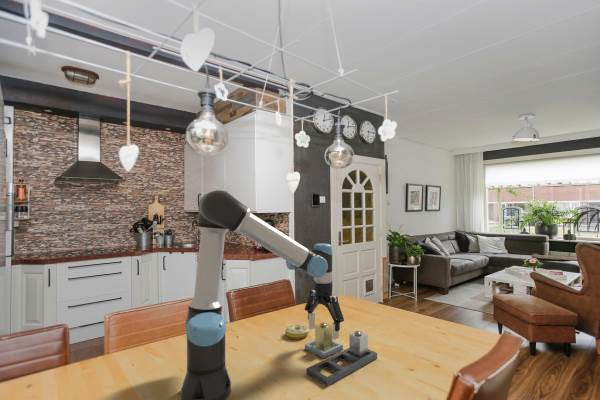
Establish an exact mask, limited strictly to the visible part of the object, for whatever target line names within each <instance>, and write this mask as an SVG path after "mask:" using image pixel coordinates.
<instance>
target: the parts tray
mask: <svg viewBox="0 0 600 400" xmlns="http://www.w3.org/2000/svg"><path fill="white" fill-rule="evenodd" d="M332 346H333V348H331V349H329V350H327V351H325V352H323V351H321V350H319V349H317V348H315V339H314V340H312V341H309V342H306V343H305V344H304V349H305V350H306V351H308V352H310V353H312V354H314V355H316V356H318V357H320V358H322V359H323V360H325V359H327V358H329V357H331V356H333V355H335V354H338V353H340V352H342V351H344V344H342V343H340V342H337V341H335V340H333V339H332Z"/></svg>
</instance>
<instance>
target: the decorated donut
mask: <svg viewBox="0 0 600 400" xmlns="http://www.w3.org/2000/svg"><path fill="white" fill-rule="evenodd" d="M309 333H310V329H309V327H307V326H305V325H304V324H291V325H289V326H287V327H286V328H285V334H286V336H287V337H288V338H290V339H291V340H300V339H304V338H306V337H307V336H308V334H309Z"/></svg>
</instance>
